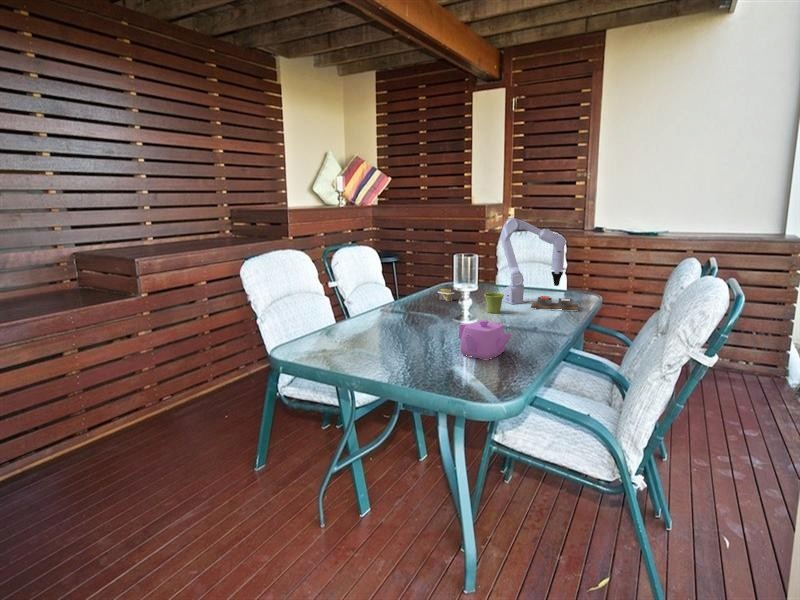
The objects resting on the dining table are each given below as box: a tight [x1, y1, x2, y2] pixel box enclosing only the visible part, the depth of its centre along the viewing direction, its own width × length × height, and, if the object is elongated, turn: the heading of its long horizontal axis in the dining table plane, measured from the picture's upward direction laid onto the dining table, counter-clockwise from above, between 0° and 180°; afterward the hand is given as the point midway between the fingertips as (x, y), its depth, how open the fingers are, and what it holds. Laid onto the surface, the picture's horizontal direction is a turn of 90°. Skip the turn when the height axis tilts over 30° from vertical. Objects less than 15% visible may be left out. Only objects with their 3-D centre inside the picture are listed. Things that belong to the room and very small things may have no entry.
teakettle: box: [458, 319, 513, 359], centre depth 181 cm, size 17×17×12 cm
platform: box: [437, 288, 455, 302], centre depth 271 cm, size 12×18×7 cm, turn 53°
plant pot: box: [484, 292, 505, 314], centre depth 243 cm, size 9×9×9 cm
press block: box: [530, 296, 579, 311], centre depth 251 cm, size 22×11×4 cm, turn 71°
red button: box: [539, 295, 550, 300], centre depth 253 cm, size 4×4×3 cm
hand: (556, 285), depth 260 cm, fingers closed
